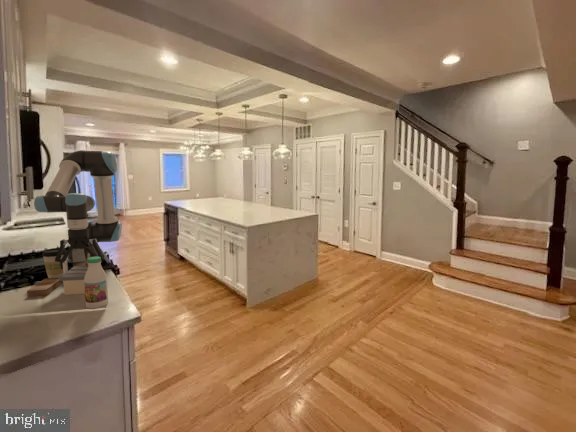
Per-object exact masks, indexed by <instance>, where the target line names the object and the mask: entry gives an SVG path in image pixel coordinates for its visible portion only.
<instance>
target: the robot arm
mask: <svg viewBox="0 0 576 432" xmlns="http://www.w3.org/2000/svg"><path fill="white" fill-rule="evenodd" d="M58 167H59V169H58V172H57V173H56V175H55V177H54V178H53V181H52V182H51V183H50V186H49V188H48V189H47V191H46V193H44V194H45V195H37V196H36V197H34V201H33V206H34V208H35V210H36V212H38V213H48V214H49V213H50V214H51V213H66V224H67V229H68V230H67V236H68V239H65V238H64V239H61V240H60V241H59V247H58V248H59V250H58V253H57V255H56V258H55V261H56V262H60V266H61V269H63V274H65V273H66V272H68V271H69V266H68V265H69V264H73V258H72V250H73V249H83V248H84V249H85V250H86V251H87V252H88V253H89V254H90V257H101V261H102V260H103V259H104V258H105V255H104V253H103V251H102V249H101V247H100V245H99V243H112V242H118V241H119V240H120V239H121V236H122V235H121V234H122V228H123V226H122V225H123V224H122V222H120V221H119V219H118V217H116V215H115V206H114V205H115V203H114V192H113V183H112V179H113V177H114V176H115V173H117V172H118V171H117V170H118V165H117V161H116V157H115V155H114V154H113V153H112V152H111V151H105V150H76V151H73V152H71V153H69V154H68V155H66V156H64V157H63V158H62V160H60V163H59V165H58ZM81 172H86V173H87V172H88V173H89V174H90V176H91V177H92V178H93V182H94V191H95V192H94V193H95V199H94V198H93V197H92V196H90V195H86V194H85V193H83V192H82V193H80V192H78V193H77V192H75V193H74V192H73V193H72V192H71V193H69V191H70V189H71V187H72V184H73V183H74V181H75V179H76V176H77V175H79V174H80V173H81ZM95 206H96V209H97V210H96V211H97V219H96V220H95V222H93V220H91V219H90V220H89V219H88V218H89V217H88V212H90V211H91V210H93V209H94V208H95ZM88 243H89V244H88ZM67 245H69V247H68V249H67V250H66V251H67V252H66V253H65V254H64V256H63V257H62V259H61V256H62V253H63V251H64V248H65V249H66V246H67ZM65 260H66V261H65ZM68 263H69V264H68Z"/></svg>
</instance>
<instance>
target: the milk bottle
mask: <svg viewBox="0 0 576 432" xmlns="http://www.w3.org/2000/svg"><path fill="white" fill-rule="evenodd" d="M87 262H88V270H87V272H86V274H85V278H84V288H85V294H84V300H85V301H84V302H85V307H86V308H87V309H88V308H89V309H88V310H95V309H94V308H100V307H104V306H105V305H107V304H108V303H109V296H108V295H109V293H108V292H109V291H108V281H107V279H108V278H107V275H106V272H105V270H104V268H103V266H102V264H101V263H102V260H101V257H90V258H88V259H87Z"/></svg>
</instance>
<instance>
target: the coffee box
mask: <svg viewBox="0 0 576 432" xmlns="http://www.w3.org/2000/svg"><path fill="white" fill-rule="evenodd" d="M88 244H89V243H88ZM72 258H73V263H72V268H73V267H74V266H88V262H87V259H88V258H90V254H89V253H88V252H87V251H86V250H85V249H84V248H83V249H73V250H72Z"/></svg>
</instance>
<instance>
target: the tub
mask: <svg viewBox="0 0 576 432" xmlns="http://www.w3.org/2000/svg"><path fill="white" fill-rule="evenodd" d="M62 284H63V292H64V293H63V294H64V296H69V295H85V288H84V280H70V281H63V283H62Z"/></svg>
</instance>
